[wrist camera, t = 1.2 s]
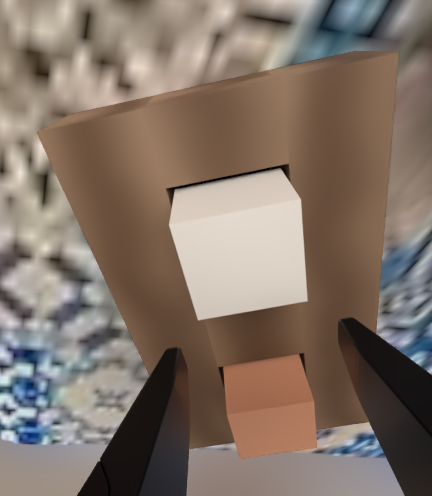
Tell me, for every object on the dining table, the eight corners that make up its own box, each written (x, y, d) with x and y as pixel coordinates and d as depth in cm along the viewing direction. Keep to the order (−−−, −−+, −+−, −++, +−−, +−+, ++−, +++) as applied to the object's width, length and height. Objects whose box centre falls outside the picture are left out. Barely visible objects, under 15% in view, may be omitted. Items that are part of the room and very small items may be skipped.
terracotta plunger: (297, 350, 21) (314, 401, 18) (302, 396, 23) (317, 447, 20) (222, 363, 21) (226, 414, 18) (235, 406, 24) (240, 459, 21)
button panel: (355, 50, 16) (398, 52, 12) (347, 376, 28) (368, 421, 25) (70, 114, 16) (36, 132, 13) (185, 402, 29) (184, 450, 25)
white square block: (280, 168, 15) (300, 199, 12) (288, 256, 17) (307, 301, 14) (174, 189, 15) (169, 225, 12) (198, 273, 18) (197, 320, 15)
